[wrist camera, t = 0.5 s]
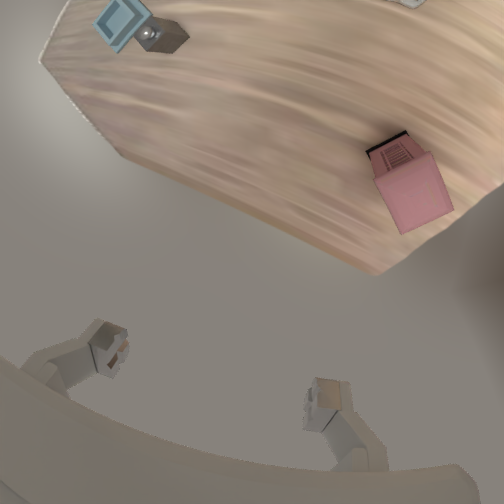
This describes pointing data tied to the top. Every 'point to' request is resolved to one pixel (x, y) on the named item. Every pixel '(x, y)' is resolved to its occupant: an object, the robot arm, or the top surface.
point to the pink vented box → (409, 182)
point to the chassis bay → (121, 22)
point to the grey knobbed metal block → (160, 35)
